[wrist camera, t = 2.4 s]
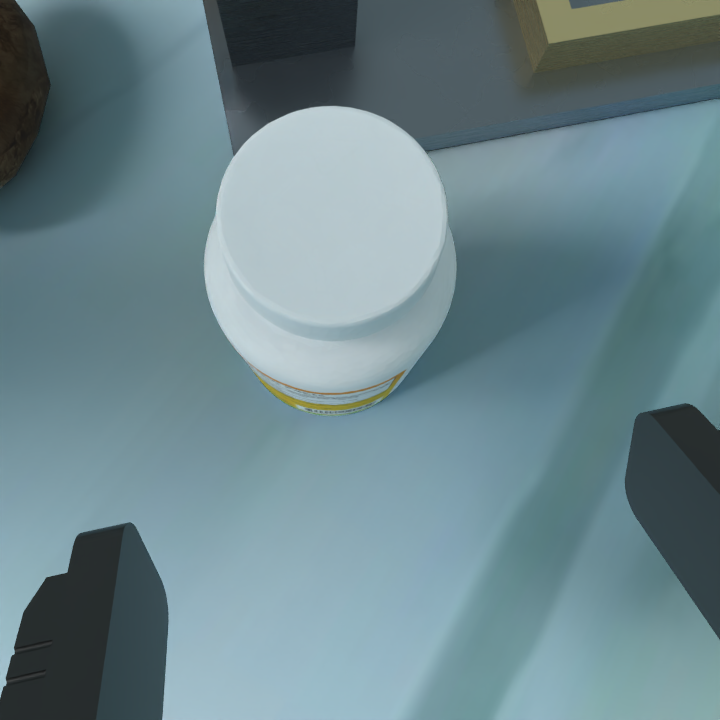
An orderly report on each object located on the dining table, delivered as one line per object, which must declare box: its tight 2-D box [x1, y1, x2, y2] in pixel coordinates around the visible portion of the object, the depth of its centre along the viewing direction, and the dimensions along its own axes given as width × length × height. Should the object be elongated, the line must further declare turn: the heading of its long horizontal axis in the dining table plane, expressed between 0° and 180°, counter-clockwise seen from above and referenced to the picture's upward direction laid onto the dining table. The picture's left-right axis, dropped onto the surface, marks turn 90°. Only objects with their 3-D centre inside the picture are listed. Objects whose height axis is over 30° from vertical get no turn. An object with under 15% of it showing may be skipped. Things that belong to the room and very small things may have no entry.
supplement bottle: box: [204, 106, 457, 416], centre depth 16 cm, size 5×5×10 cm
